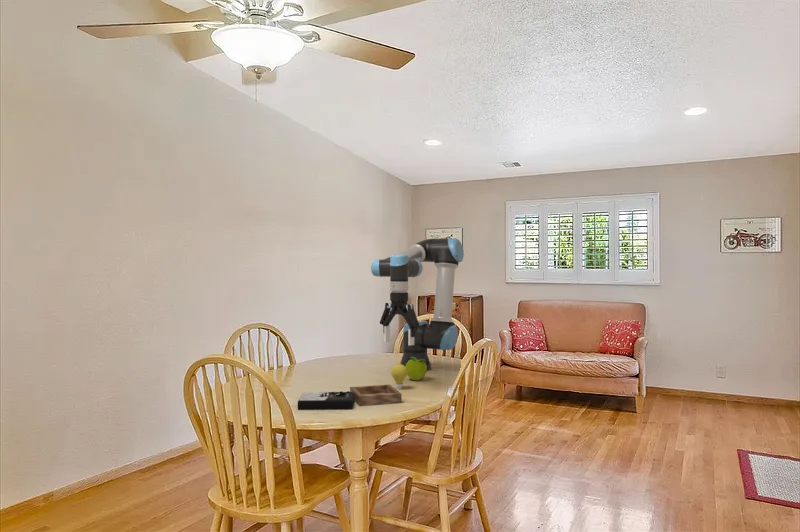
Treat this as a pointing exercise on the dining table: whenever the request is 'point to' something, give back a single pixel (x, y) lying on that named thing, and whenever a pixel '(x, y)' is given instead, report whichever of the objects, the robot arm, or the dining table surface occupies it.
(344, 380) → the dining table surface
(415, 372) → the fruit
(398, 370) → the light bulb
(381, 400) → the tray
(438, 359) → the dining table surface
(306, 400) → the multimeter
